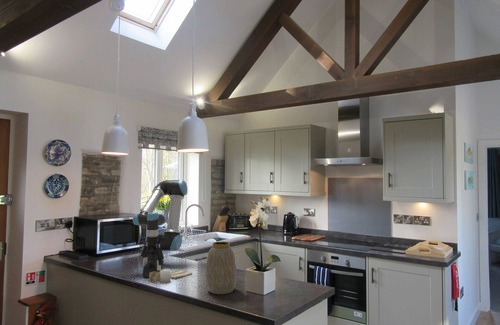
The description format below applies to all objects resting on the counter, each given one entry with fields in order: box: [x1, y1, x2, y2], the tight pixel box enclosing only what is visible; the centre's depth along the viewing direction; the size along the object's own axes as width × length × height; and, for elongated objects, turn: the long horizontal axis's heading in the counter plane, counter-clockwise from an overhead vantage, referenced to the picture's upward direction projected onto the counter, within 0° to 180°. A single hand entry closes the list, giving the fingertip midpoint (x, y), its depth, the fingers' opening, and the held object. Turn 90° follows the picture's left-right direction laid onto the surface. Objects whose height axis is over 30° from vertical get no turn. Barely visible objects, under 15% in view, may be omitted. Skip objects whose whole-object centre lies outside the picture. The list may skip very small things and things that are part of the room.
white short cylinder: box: [159, 268, 172, 284], centre depth 226 cm, size 6×6×7 cm
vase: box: [205, 241, 237, 295], centre depth 207 cm, size 17×17×27 cm
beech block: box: [148, 271, 160, 283], centre depth 228 cm, size 5×5×5 cm
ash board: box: [170, 269, 193, 280], centre depth 240 cm, size 12×15×1 cm
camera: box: [142, 261, 164, 279], centre depth 239 cm, size 13×10×10 cm
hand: (151, 268), depth 239 cm, fingers open, 13 cm apart
